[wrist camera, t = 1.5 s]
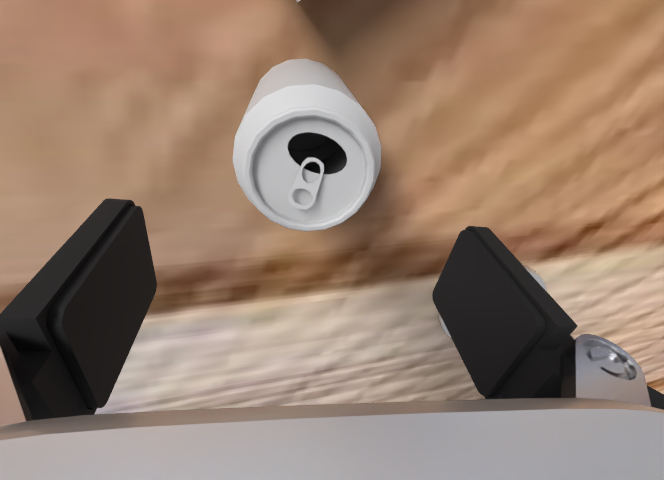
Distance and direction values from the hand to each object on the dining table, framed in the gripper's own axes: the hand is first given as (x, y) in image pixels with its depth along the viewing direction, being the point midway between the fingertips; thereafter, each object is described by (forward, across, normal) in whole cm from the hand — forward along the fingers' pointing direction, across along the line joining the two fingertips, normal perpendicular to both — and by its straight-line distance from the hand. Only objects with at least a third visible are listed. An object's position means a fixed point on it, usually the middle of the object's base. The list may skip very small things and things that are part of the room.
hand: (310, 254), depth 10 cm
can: (+18, -1, 0) cm, 18 cm away
